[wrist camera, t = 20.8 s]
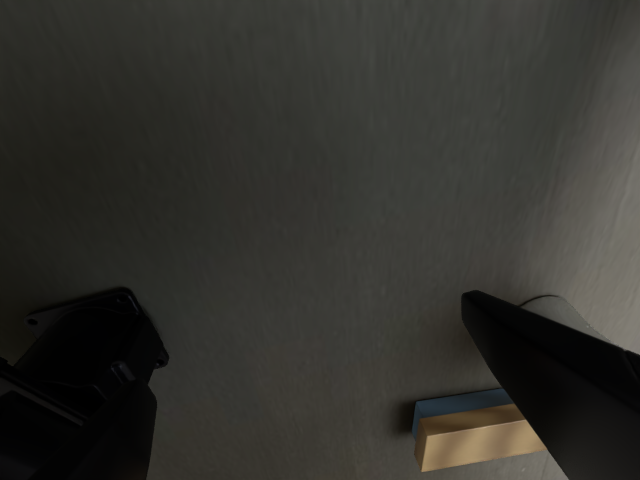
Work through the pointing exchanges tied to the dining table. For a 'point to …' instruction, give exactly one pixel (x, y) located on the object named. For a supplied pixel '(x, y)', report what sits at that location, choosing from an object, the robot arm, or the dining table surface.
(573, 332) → the robot arm
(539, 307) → the beer glass
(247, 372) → the dining table surface
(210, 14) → the dining table surface
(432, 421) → the scrub brush
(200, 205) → the dining table surface
